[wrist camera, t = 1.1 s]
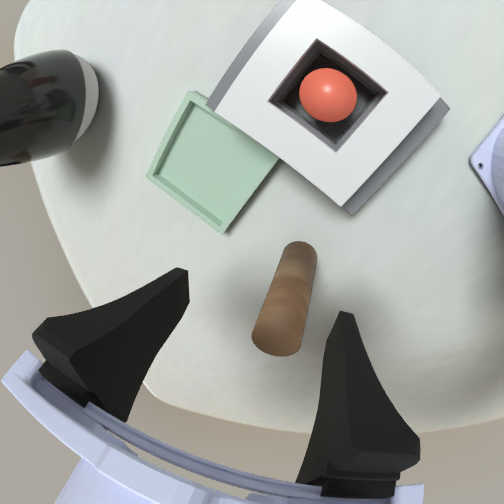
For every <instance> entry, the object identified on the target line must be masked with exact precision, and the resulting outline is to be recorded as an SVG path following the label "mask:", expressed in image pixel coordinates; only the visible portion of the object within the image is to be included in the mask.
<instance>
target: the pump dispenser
mask: <svg viewBox="0 0 504 504" xmlns="http://www.w3.org/2000/svg"><path fill="white" fill-rule="evenodd" d="M98 97H99V88H98V81H97V77H96V74H95V72H94V70H93V68H92V67H91V66H90V64H89V63H88V62H87V61H86V60H84V59H83V58H81V57H79V56H77V55H74V54H73V53H71V52H70V51H68V50H51V51H46V52H42V53H38V54H34V55H31V56H28V57H25V58H22V59H20V60H17V61H15V62H13V63H10V64H8V65H6V66H4V67H2V68H0V167H2V166H9V165H16V164H22V163H27V162H32V161H36V160H41V159H45V158H49V157H52V156H55V155H58V154H60V153H62V152H64V151H65V150H67V149H68V148H69V147H70V146H71V145H72V143H73V142H75V141H76V140H77V139H78V138H79V137H80V136H81V135H82V134H83V133H84V132H85V131H86V129H87V128H88V126H89V125H90V123H91V121H92V119H93V117H94V115H95V112H96V108H97V104H98Z"/></svg>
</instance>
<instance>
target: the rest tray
mask: <svg viewBox="0 0 504 504" xmlns="http://www.w3.org/2000/svg"><path fill="white" fill-rule="evenodd" d="M207 101H208V98H207V97H205V96H203V95H202V94H200V93H198V92H197V91H188V92H187V94H186V96H185V98H184V100H183V101H182V103H181V105H180V107H179V109H178V111H177V112H176V114H175V116H174V118H173V120H172V122H171V124H170V126H169V128H168V130H167V132H166V134H165V136H164V138H163V140H162V142H161V144H160V146H159V148H158V150H157V153H156V155H155V157H154V159H153V161H152V164H151V166H150V168H149V170H148V173H147V175H146V178H147V179H149V180H150V181H151V182H153V183H154V184H155V185H157V186H158V187H159V188H161V189H162V190H163V191H165V192H166V193H167V194H169V195H170V196H171V197H173V198H174V199H175V200H177V201H178V202H179V203H180V204H182V205H183V206H184V207H186V208H187V209H188V210H190V211H191V212H192V213H194V214H195V215H196V216H198V217H199V218H200V219H202V220H203V221H204V222H206V223H207V224H208V225H210V226H211V227H212V228H214V229H215V230H216V231H218V232H219V233H220V234H223V233H224V232H225V230H226V229H227V228H228V227H229V225H230V224H231V222H232V221H233V220H234V218H235V217H236V216H237V214H238V213H239V212H240V210H241V209H242V207H243V206H244V205H245V203H246V202H247V201H248V199H249V198H250V197H251V195H252V194H253V193H254V191H255V190H256V189H257V187H258V186H259V185H260V183H261V182H262V181H263V179H264V178H265V177H266V176H267V174H268V173H269V172H270V170H271V169H272V168H273V166H274V165H275V164H276V162H277V161H278V160H279V159H280V158H279V157H278V156H277V155H275V154H274V153H273V152H271V151H270V150H269V149H267V148H266V147H265V146H263V145H262V144H260V143H259V142H258V141H256V140H255V139H253V138H252V137H251V136H249V135H248V134H246V133H245V132H243V131H242V130H241V129H239V128H238V127H236V126H235V125H233V124H232V123H230V122H229V121H227V120H226V119H224V118H223V117H221V116H220V115H218V114H217V113H215V112H214V110H212V109H211V108H209V107H207V106H206V105H205V104H206V103H207Z"/></svg>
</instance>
